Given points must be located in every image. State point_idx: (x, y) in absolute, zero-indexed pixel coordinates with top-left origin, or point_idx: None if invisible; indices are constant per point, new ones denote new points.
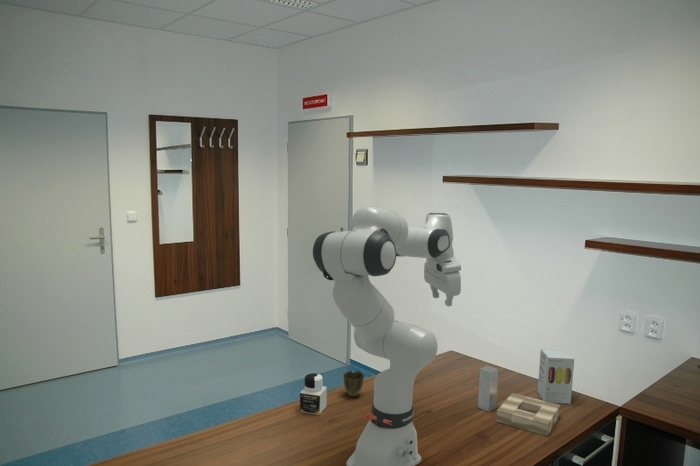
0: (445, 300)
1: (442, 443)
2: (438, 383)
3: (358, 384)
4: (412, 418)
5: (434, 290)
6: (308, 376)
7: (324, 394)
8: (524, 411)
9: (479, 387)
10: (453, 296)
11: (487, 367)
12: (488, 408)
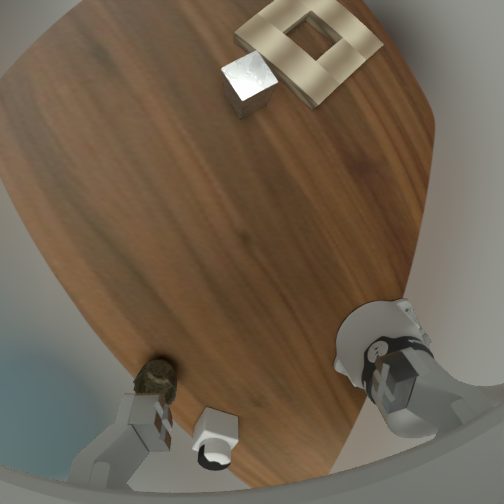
0: (395, 411)
1: (370, 250)
2: (105, 174)
3: (174, 377)
4: (420, 340)
5: (131, 456)
6: (217, 469)
7: (217, 428)
8: (330, 53)
9: (242, 110)
10: (477, 389)
11: (236, 74)
12: (265, 104)
